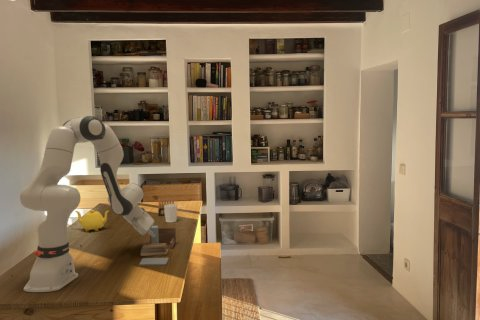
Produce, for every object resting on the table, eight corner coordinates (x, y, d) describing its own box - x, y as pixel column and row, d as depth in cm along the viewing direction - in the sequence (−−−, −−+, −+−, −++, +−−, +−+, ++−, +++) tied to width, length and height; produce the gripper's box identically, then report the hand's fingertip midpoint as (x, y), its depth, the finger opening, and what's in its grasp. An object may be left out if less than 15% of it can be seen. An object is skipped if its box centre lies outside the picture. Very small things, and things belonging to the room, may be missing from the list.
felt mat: (166, 265, 193) (166, 263, 193) (139, 265, 193) (138, 264, 193) (168, 258, 201) (168, 257, 201) (142, 259, 201) (142, 258, 201)
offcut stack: (166, 255, 206) (165, 246, 205) (140, 256, 206) (140, 246, 205) (167, 252, 211) (167, 242, 211) (142, 252, 211) (142, 243, 211)
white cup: (178, 219, 275) (177, 203, 274) (176, 222, 267) (176, 206, 266) (165, 219, 274) (165, 204, 273) (163, 223, 267) (163, 206, 266)
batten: (157, 247, 215) (156, 227, 214) (151, 247, 215) (150, 227, 214) (158, 245, 219) (158, 225, 218) (152, 245, 219) (152, 225, 218)
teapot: (114, 225, 263) (113, 206, 262) (107, 232, 248) (106, 212, 247) (81, 226, 263) (80, 207, 261) (72, 232, 248) (70, 213, 246)
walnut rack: (173, 248, 217) (172, 232, 216) (147, 248, 216) (146, 233, 216) (176, 242, 226) (175, 227, 225) (150, 243, 226) (150, 227, 225)
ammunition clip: (158, 216, 285) (157, 198, 283) (158, 215, 287) (158, 197, 285) (174, 215, 285) (174, 197, 283) (175, 215, 286) (174, 197, 285)
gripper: (135, 216, 204) (156, 236, 206) (144, 206, 225) (163, 225, 226) (125, 225, 205) (147, 245, 206) (135, 215, 225) (155, 233, 226)
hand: (156, 234), depth 216 cm, fingers closed on batten, 4 cm apart
